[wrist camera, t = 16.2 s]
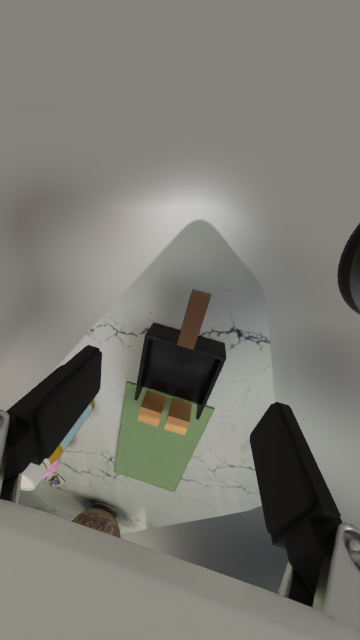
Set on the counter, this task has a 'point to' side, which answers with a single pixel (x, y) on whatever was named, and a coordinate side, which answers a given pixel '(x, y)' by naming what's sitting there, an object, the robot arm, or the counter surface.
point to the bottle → (36, 472)
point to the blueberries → (55, 480)
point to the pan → (182, 357)
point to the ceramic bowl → (100, 519)
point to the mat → (156, 442)
